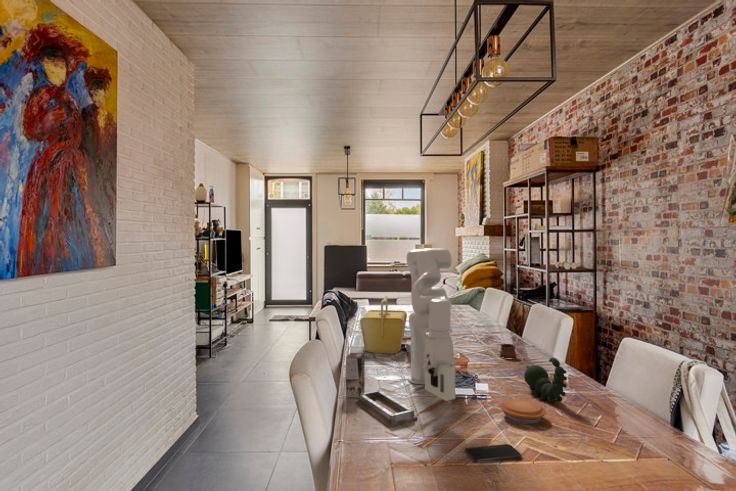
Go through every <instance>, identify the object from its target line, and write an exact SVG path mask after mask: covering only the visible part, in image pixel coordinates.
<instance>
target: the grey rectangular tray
mask: <svg viewBox="0 0 736 491" xmlns="http://www.w3.org/2000/svg"><path fill="white" fill-rule="evenodd" d="M355 405H357V406H358V407H360V408H361V409H362V410H364V411H366V413H368V414H369V415H371V416H372V417H374V418H375V419H377V421H379V422H381V423H382V424H384V425H385V426H386V427H388V428H390V427H391V428H392V427H394V426H398V425H402V424H406V423H410V422H414V421H418V416H416V415H415V410H414V409H412V408H411V407H409V406H407V405H405V404H404V403H402V402H401V401H399V400H397V399H395V398H394V397H392V396H390V395H388V394H387V393H385V392H384V391H382V390H380V389H378V390H373V391H368V392H363V393H362V394H359V398H358V400H356V401H355Z"/></svg>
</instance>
